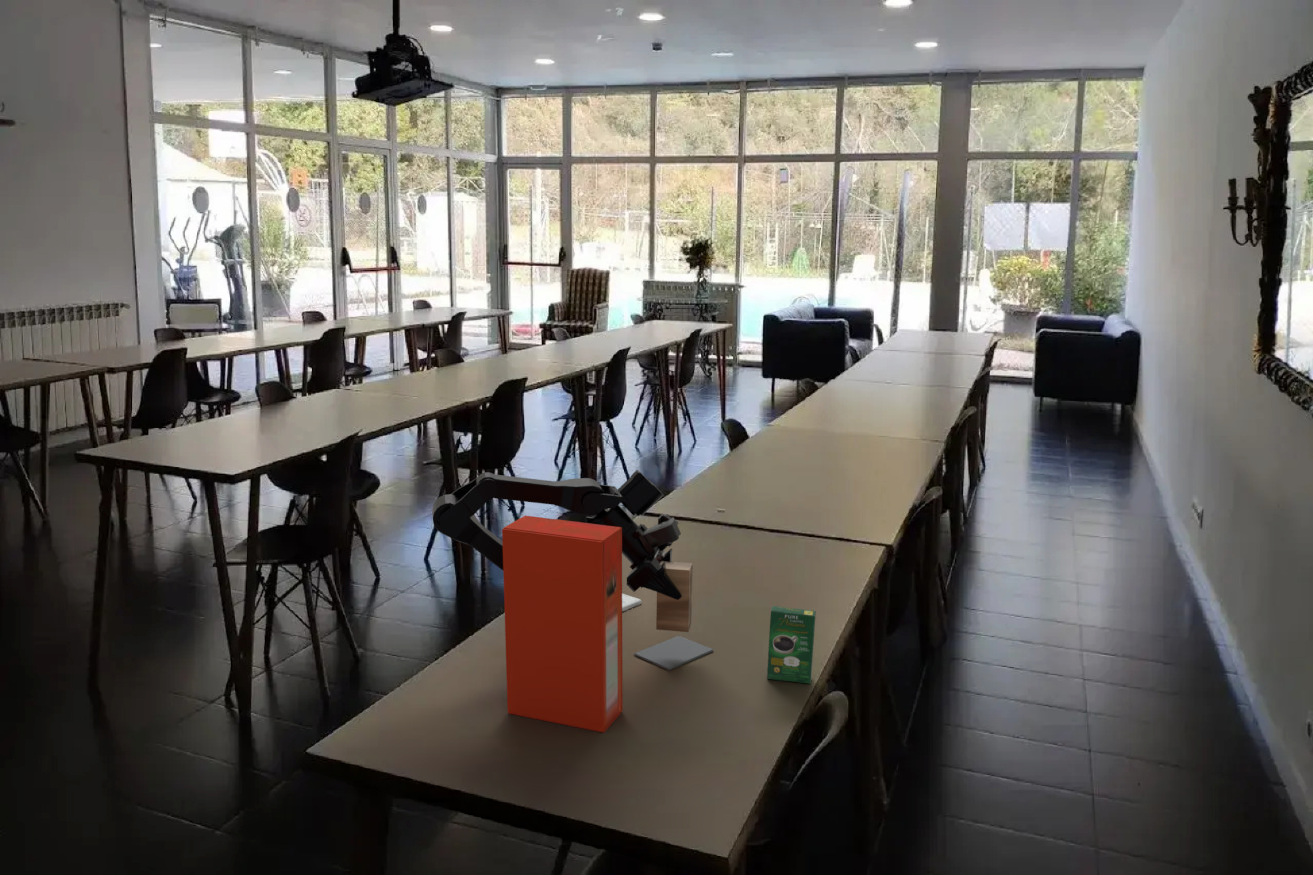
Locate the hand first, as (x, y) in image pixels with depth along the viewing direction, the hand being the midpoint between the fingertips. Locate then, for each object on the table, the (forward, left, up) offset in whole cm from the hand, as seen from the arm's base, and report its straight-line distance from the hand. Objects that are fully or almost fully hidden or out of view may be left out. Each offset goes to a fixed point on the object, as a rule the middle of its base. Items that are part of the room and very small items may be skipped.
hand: (681, 594), depth 189 cm
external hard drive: (+6, +27, -13) cm, 31 cm away
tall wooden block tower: (-1, +1, -7) cm, 7 cm away
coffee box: (+6, -21, -12) cm, 25 cm away
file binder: (-31, -3, -12) cm, 33 cm away
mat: (-1, +1, -12) cm, 12 cm away
